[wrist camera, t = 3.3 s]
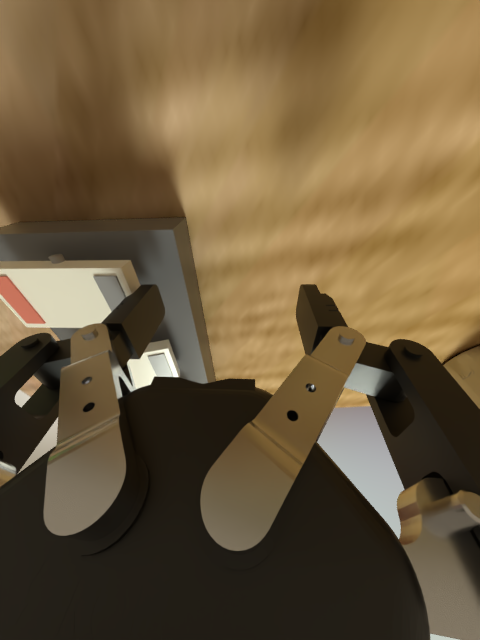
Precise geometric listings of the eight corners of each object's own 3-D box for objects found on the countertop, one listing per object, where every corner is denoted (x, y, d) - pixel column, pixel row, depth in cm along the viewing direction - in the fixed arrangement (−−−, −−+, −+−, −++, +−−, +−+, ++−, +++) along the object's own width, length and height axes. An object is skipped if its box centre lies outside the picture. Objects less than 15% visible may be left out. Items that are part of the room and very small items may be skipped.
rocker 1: (130, 253, 11) (117, 263, 10) (155, 320, 14) (147, 333, 13) (-8, 254, 11) (-34, 264, 10) (44, 319, 14) (28, 331, 13)
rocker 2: (167, 334, 16) (166, 346, 15) (180, 370, 19) (180, 382, 18) (55, 354, 15) (45, 368, 14) (86, 390, 18) (81, 404, 17)
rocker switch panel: (185, 217, 14) (172, 229, 11) (216, 385, 26) (213, 408, 24) (18, 222, 14) (-27, 235, 12) (126, 385, 27) (115, 406, 25)
